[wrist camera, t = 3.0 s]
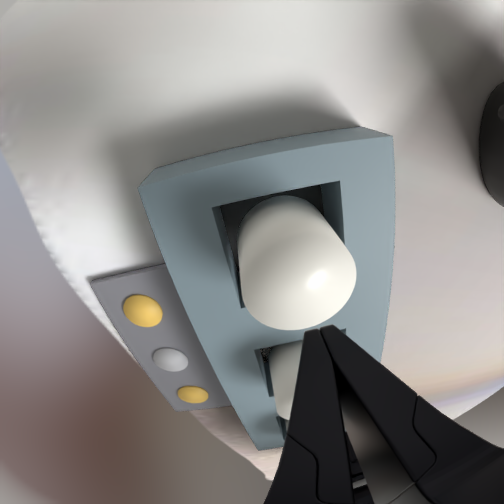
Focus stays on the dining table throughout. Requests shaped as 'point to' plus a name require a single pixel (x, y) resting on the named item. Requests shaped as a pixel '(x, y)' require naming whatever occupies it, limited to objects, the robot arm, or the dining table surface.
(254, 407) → the button board
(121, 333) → the card
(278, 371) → the button mid
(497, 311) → the dining table surface
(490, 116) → the mug
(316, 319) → the button
